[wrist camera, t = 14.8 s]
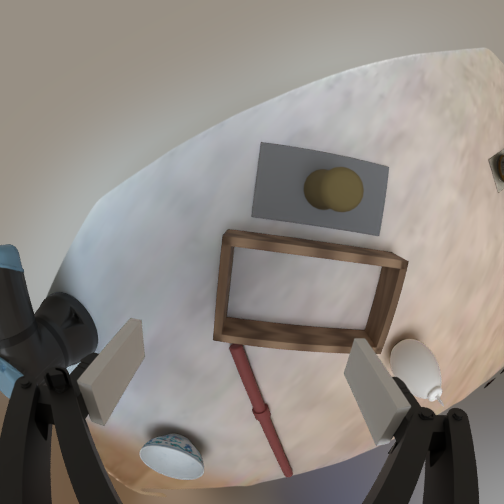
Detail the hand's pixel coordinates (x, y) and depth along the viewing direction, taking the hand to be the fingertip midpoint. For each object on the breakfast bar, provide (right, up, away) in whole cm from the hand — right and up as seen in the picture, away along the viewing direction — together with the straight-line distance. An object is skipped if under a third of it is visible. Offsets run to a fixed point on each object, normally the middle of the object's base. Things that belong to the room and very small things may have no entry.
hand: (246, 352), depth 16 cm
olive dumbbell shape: (+11, +15, +23) cm, 30 cm away
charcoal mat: (+11, +15, +23) cm, 30 cm away
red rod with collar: (+4, -30, +34) cm, 46 cm away
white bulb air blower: (+28, -12, +29) cm, 43 cm away
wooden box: (+9, 0, +27) cm, 28 cm away
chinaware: (-17, -40, +37) cm, 57 cm away
